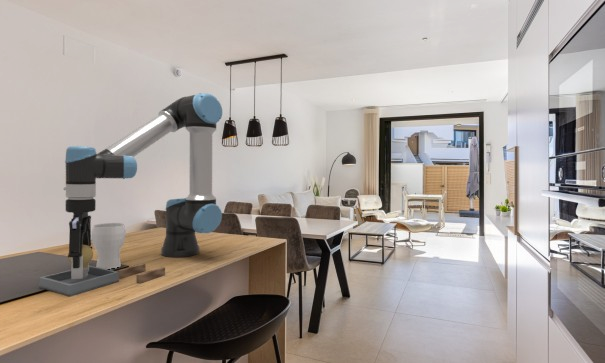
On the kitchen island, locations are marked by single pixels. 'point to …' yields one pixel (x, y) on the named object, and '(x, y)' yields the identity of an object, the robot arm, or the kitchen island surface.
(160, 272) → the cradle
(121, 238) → the cup
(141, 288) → the kitchen island surface
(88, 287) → the tray
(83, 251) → the light bulb
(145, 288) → the kitchen island surface
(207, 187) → the robot arm
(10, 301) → the kitchen island surface
